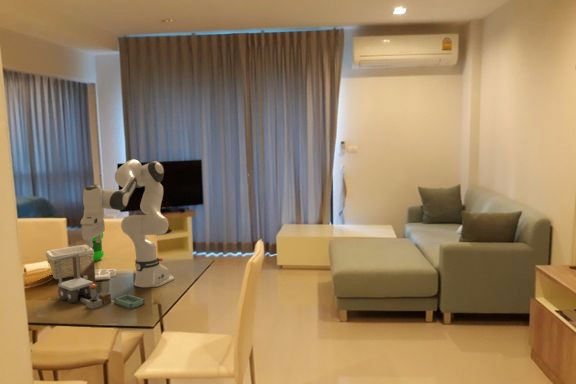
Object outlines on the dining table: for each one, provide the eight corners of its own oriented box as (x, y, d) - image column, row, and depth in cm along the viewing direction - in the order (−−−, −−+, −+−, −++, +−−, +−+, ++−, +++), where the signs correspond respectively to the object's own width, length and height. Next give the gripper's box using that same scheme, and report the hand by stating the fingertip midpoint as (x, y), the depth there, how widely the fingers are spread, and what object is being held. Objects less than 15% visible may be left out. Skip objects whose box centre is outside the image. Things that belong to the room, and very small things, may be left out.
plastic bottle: (104, 261, 313) (102, 223, 310) (86, 262, 310) (84, 224, 306) (105, 256, 323) (103, 220, 319) (88, 258, 319) (85, 221, 316)
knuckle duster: (82, 283, 271) (84, 275, 285) (115, 280, 277) (116, 272, 291) (81, 277, 271) (84, 269, 285) (115, 274, 276) (116, 267, 290)
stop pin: (95, 304, 239) (94, 283, 237) (99, 305, 237) (98, 284, 235) (89, 306, 236) (87, 285, 234) (93, 308, 234) (91, 286, 232)
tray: (128, 298, 246) (127, 294, 246) (144, 304, 239) (144, 299, 239) (114, 303, 240) (114, 298, 240) (131, 309, 233) (130, 304, 232)
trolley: (79, 292, 256) (77, 253, 253) (110, 303, 241) (107, 261, 237) (58, 298, 246) (55, 258, 243) (88, 310, 231) (85, 267, 228)
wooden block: (95, 286, 264) (93, 255, 262) (74, 289, 259) (72, 257, 257) (94, 284, 268) (92, 253, 265) (73, 287, 263) (71, 256, 260)
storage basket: (53, 281, 274) (51, 256, 272) (46, 274, 286) (44, 250, 284) (96, 273, 289) (94, 249, 287) (87, 266, 301) (86, 243, 299)
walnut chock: (106, 300, 244) (105, 292, 243) (111, 302, 242) (110, 293, 241) (99, 303, 241) (98, 294, 240) (104, 304, 239) (103, 296, 238)
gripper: (95, 213, 248) (96, 239, 251) (78, 221, 228) (80, 250, 230) (107, 213, 249) (108, 239, 251) (92, 222, 228) (93, 250, 230)
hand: (94, 244), depth 240 cm, fingers open, 8 cm apart
